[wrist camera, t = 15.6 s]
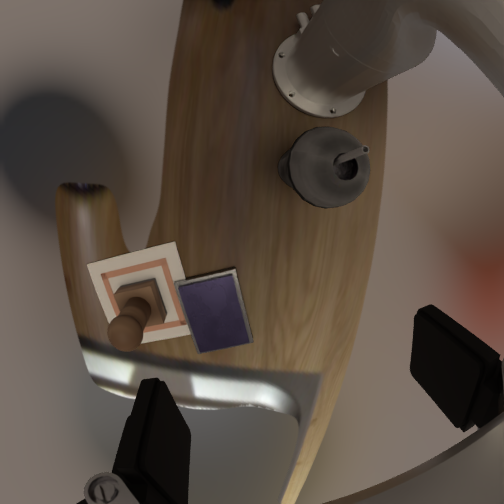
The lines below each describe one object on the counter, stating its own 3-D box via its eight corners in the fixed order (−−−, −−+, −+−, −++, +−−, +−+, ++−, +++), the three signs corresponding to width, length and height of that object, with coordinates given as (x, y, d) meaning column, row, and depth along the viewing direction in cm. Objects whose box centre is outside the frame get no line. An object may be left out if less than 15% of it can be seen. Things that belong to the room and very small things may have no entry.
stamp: (120, 285, 37) (89, 324, 26) (155, 277, 37) (133, 316, 26) (133, 319, 38) (109, 365, 27) (167, 313, 38) (151, 359, 28)
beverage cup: (287, 208, 37) (357, 248, 17) (254, 160, 35) (295, 144, 15) (333, 177, 36) (435, 187, 17) (303, 129, 34) (386, 90, 15)
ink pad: (174, 280, 38) (173, 285, 36) (234, 266, 38) (235, 270, 36) (198, 350, 41) (197, 356, 39) (252, 338, 41) (254, 344, 39)
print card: (87, 263, 36) (86, 265, 35) (175, 241, 36) (174, 242, 36) (120, 345, 39) (119, 347, 39) (202, 330, 40) (202, 332, 39)
